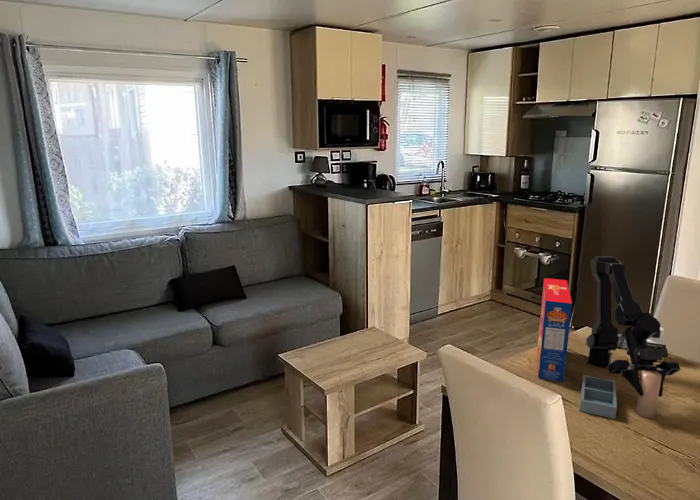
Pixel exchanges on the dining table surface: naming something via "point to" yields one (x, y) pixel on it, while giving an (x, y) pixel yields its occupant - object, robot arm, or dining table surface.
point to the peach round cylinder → (649, 393)
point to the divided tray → (598, 396)
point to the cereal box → (554, 329)
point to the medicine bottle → (657, 340)
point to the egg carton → (621, 342)
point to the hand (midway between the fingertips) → (651, 396)
